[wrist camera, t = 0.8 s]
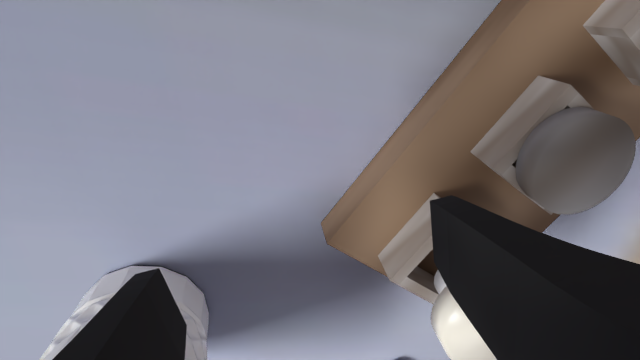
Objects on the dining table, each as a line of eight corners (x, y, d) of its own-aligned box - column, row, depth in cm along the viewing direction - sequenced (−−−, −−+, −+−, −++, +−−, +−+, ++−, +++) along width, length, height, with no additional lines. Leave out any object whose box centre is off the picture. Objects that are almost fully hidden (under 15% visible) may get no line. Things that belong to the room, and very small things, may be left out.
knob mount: (707, 24, 20) (853, 33, 15) (442, 292, 25) (487, 363, 20) (606, -129, 16) (757, -184, 11) (320, 223, 21) (340, 289, 16)
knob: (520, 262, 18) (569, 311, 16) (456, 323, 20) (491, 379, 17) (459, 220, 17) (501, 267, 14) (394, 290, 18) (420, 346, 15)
